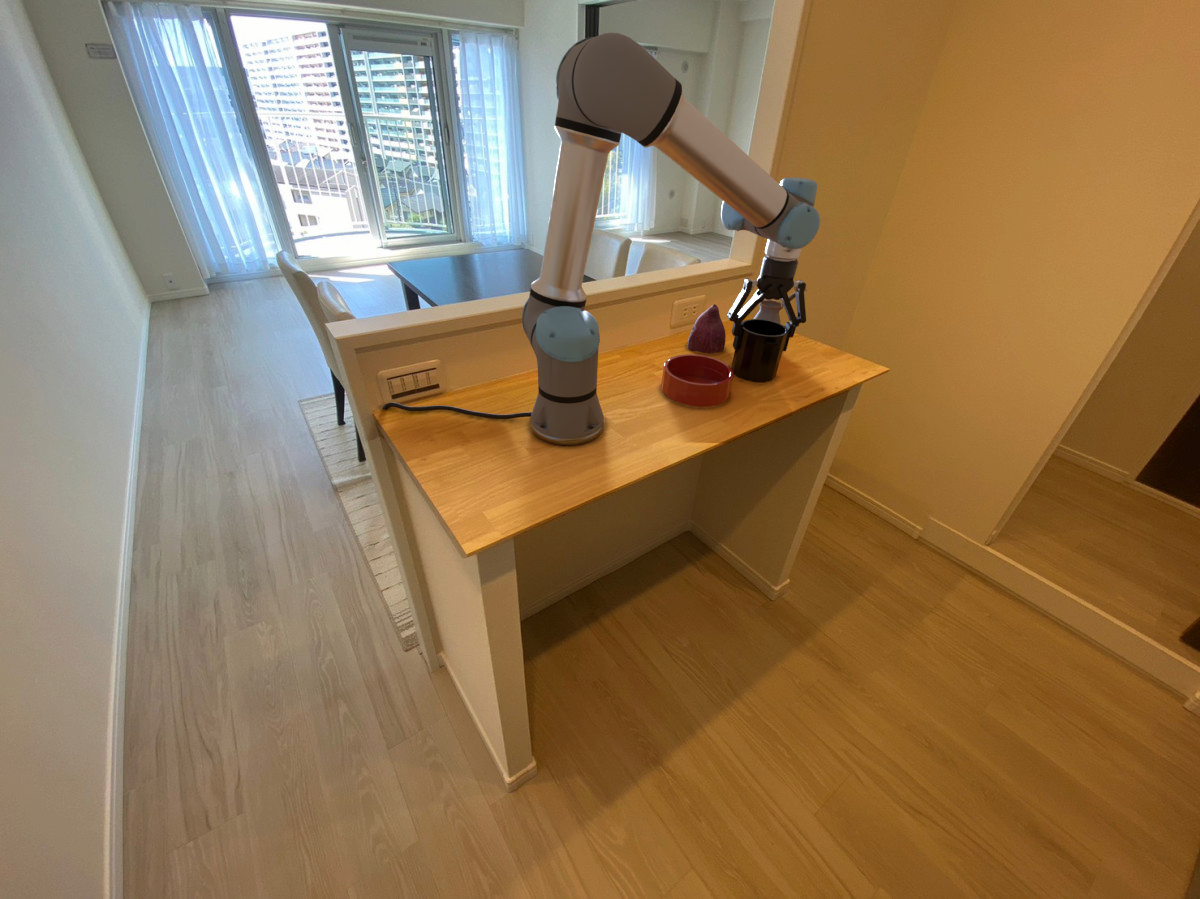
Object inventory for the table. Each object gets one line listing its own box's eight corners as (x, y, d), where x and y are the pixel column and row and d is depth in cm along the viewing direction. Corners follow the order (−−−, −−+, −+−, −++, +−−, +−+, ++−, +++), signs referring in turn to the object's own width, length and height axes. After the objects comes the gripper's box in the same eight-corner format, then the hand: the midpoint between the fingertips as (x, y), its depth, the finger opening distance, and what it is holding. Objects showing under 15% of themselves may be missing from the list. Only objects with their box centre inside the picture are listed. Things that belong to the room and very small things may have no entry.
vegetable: (719, 366, 136) (737, 322, 125) (683, 357, 137) (698, 312, 125) (723, 343, 143) (740, 299, 131) (688, 335, 144) (702, 290, 132)
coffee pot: (765, 359, 134) (779, 305, 125) (731, 345, 141) (742, 293, 132) (807, 342, 145) (823, 291, 137) (774, 329, 152) (787, 280, 144)
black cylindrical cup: (739, 384, 120) (749, 338, 113) (725, 359, 132) (734, 315, 125) (783, 385, 120) (797, 339, 113) (766, 360, 132) (777, 317, 125)
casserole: (666, 408, 110) (669, 384, 107) (657, 375, 123) (660, 353, 120) (736, 409, 111) (741, 386, 108) (719, 377, 124) (724, 355, 121)
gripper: (733, 259, 106) (715, 353, 119) (840, 263, 107) (811, 356, 120) (725, 251, 112) (709, 341, 125) (826, 254, 113) (799, 343, 126)
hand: (758, 348), depth 122 cm, fingers closed on black cylindrical cup, 11 cm apart
